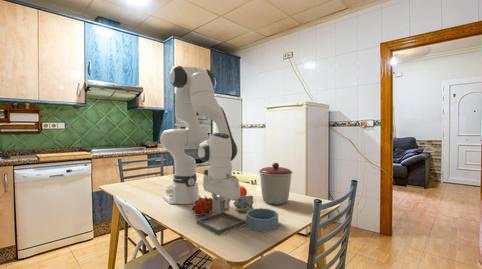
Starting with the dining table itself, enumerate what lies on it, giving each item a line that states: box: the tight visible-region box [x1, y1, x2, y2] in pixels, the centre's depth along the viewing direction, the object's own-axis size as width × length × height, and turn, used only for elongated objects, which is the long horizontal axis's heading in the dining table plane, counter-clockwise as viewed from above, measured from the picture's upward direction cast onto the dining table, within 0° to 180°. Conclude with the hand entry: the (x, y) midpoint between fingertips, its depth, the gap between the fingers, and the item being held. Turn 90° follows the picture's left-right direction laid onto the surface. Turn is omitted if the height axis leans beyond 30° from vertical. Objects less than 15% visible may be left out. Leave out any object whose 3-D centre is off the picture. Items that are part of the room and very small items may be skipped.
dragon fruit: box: [191, 196, 213, 217], centre depth 111 cm, size 8×8×12 cm
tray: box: [196, 211, 246, 236], centre depth 100 cm, size 14×14×2 cm
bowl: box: [245, 207, 279, 232], centre depth 100 cm, size 13×13×4 cm
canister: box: [258, 162, 294, 206], centre depth 130 cm, size 18×18×21 cm
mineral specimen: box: [232, 195, 255, 213], centre depth 118 cm, size 10×8×10 cm
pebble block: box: [211, 196, 230, 213], centre depth 100 cm, size 5×5×5 cm
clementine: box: [240, 185, 248, 197], centre depth 135 cm, size 8×7×7 cm
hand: (220, 205), depth 100 cm, fingers closed on pebble block, 5 cm apart
